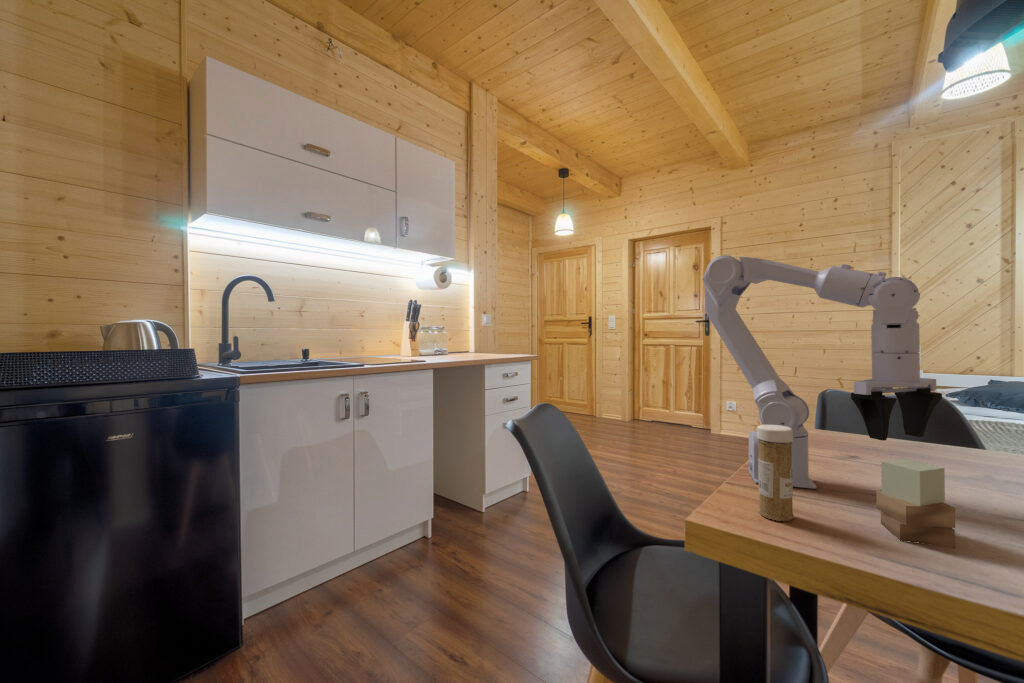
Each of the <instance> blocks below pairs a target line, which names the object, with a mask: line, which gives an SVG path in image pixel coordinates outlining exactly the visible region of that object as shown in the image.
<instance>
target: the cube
mask: <svg viewBox="0 0 1024 683" xmlns="http://www.w3.org/2000/svg"><path fill="white" fill-rule="evenodd" d="M880 462H881V464H880V465H881V471H880V472H881V491H882V494H884V495H887V496H890V497H893V498H896V499H900V500H903V501H906V502H909V503H912V504H915V505H918V506H924V505H930V504H936V503H942V502H944V503H945V502H946V497H945V496H946V494H945V493H946V492H945V491H946V488H945V487H946V486H945V485H946V484H945V478H946V476H945V469H946V468H945V467H942V466H939V465H934V464H929V463H925V462H921V461H917V460H912V459H908V458H900V459H891V460H883V461H880Z"/></svg>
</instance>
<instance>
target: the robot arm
mask: <svg viewBox="0 0 1024 683" xmlns="http://www.w3.org/2000/svg"><path fill="white" fill-rule="evenodd" d="M737 258H738V259H737ZM737 258H736V257H735V256H732V255H727V254H724V255H723V254H722V255H719V256H716V257H715V258H713V259H712V260H711V261H710V262H709V263H708V265H707V267H706V269H705V272H704V274H703V277H702V283H703V285H704V311H705V314H706V316H707V317H708V319H709V320H710V322H711V324H712V326H713V327H714V329H715V330H716V332H717V334H718V335H719V337H720V338H721V341H722V342H723V343H724V345H725V346H726V349H727V350H728V351H729V353H730V354H731V356H732V358H733V359H734V361H735V363H736V364H737V366H738V367H739V369H740V371H741V373H742V374H743V377H744V378H745V379H746V380H747V382H748V384H749V385H750V387H751V389H752V394H753V399H754V400H753V401H754V404H756V406H757V410H758V415H759V416H758V417H759V420H760V423H761V425H781V426H786V427H789V428H791V429H792V430H793V441H792V445H791V447H792V448H791V452H792V484H793V488H802V489H805V488H806V489H814V490H815V489H817V488H818V487H817V485H816V484H815V483H814V481H812V479H810V477H809V475H810V474H809V431H808V430H807V428H806V427H805V426H804V425H803V424H805V422H807V420H808V419H809V416H810V408H809V406H808V404H807V402H806V401H805V400H804V399H803V398H802V397H800V396H798V395H797V394H795V393H794V392H793V390H792V389H791V388H790V386H789V385H788V384H787V382H785V381H784V380H782V378H781V377H780V376H779V375H778V373H777V372H776V370H775V368H774V367H773V366H772V364H771V362H770V361H769V359H768V357H767V356H766V354H765V353H764V351H763V349H762V348H761V346H760V345H759V344H758V342H757V340H756V339H755V337H754V336H753V334H752V332H751V331H750V329H749V327H748V326H747V325H746V323H745V322H744V320H743V318H742V317H741V316H740V314H739V313H738V311H737V305H738V303H739V301H740V298H741V296H742V295H743V293H744V292H745V291H746V290H747V289H748V288H749V287H750V286H751V284H754V285H757V284H760V283H762V282H765V281H766V282H767V281H773V282H778V283H782V284H783V283H784V284H790V285H793V286H799V287H805V288H809V289H813V290H814V291H815V292H816V295H817V296H818V298H819V299H824V300H829V301H832V302H835V303H841V304H844V305H845V304H846V305H849V306H854V307H859V308H866V307H869V306H871V307H872V308H873V310H872V315H873V316H872V324H871V327H870V328H871V331H870V332H871V336H870V337H871V378H870V379H869V378H868V379H864V380H859V381H858V380H856V381H853V392H851V393H850V399H851V400H852V402H853V403H854V404H855V405H856V408H857V409H858V410H859V412H860V415H861V417H862V419H863V422H864V425H865V427H866V431H867V433H868V436H869V438H870V439H872V440H873V439H874V440H879V441H887V439H888V434H889V426H890V418H891V415H892V414H891V413H892V411H893V410H894V406H895V404H896V402H897V403H898V404H899V407H900V411H901V416H902V417H901V418H902V426H903V430H904V434H905V435H907V436H913V437H917V438H922V437H924V435H925V433H926V432H925V431H926V429H927V426H928V423H929V420H930V417H931V415H932V413H933V411H934V410H935V408H936V407H937V405H938V404H939V403H940V402H941V400H942V399H943V393H942V392H935V391H937V378H927V377H921V361H920V360H921V358H920V356H921V355H920V354H921V353H920V352H921V350H920V344H921V342H920V339H921V338H920V323H919V322H918V321H917V320H918V319H919V311H918V310H917V308H916V307H915V306H916V305H917V303H918V302H919V301H920V297H921V292H919V288H918V286H917V285H916V284H915V283H914V282H913V281H912V280H910V279H908V278H906V277H901V276H891V277H886V276H887V273H886V272H884V271H878V272H877V273H873V272H868V271H861V270H858V269H857V270H856V269H852V266H851V265H850V264H845V263H841V264H840V266H835V265H831V266H830V267H827V268H826V269H823V270H815V269H811V268H805V267H802V266H797V265H792V264H788V263H783V262H779V261H775V260H770V259H764V258H759V257H758V258H757V257H750V256H749V257H748V256H737ZM888 393H889V394H891V393H894V395H895V397H888V396H886V395H885V394H888ZM758 458H759V442H758V438H757V430H756V431H755V430H751V431H749V434H748V472H749V474H750V476H751V478H752V479H753V482H754V483H755V484H759V478H758Z"/></svg>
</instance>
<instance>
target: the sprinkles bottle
mask: <svg viewBox="0 0 1024 683" xmlns="http://www.w3.org/2000/svg"><path fill="white" fill-rule="evenodd" d="M756 431H757V438H758V442H759V458H758V478H759V483H758V493H759V498H758V500H759V502H758V503H759V506H758V507H759V508H758V513H759V514H760V515H761V516H762V517H764V518H766V519H768V520H770V519H772V520H771V521H775V520H776V522H781V521H783V522H790V521H792V520H793V519H794V518H795V515H794V511H793V509H794V508H793V497H794V490H793V489H794V487H793V484H792V452H791V448H792V447H791V445H792V441H793V430H792V429H791V428H789V427H786V426H781V425H762V424H760V425H758V426H757V427H756Z"/></svg>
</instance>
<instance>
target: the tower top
mask: <svg viewBox="0 0 1024 683" xmlns="http://www.w3.org/2000/svg"><path fill="white" fill-rule="evenodd" d="M876 509H877V510H879V511H880V512H881V511H882V512H884V513H885V514H887V515H889V516H890V517H892V518H894V519H896V520H897V521H899V522H901V523H902V524H904V525H906V526H922V527H944V528H953V529H956V507H955V506H952V505H950V504H948V503H945V502H942V503H936V504H930V505H924V506H918V505H915V504H912V503H909V502H906V501H903V500H900V499H896V498H893V497H890V496H887V495H884V494H882V490H876Z"/></svg>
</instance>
